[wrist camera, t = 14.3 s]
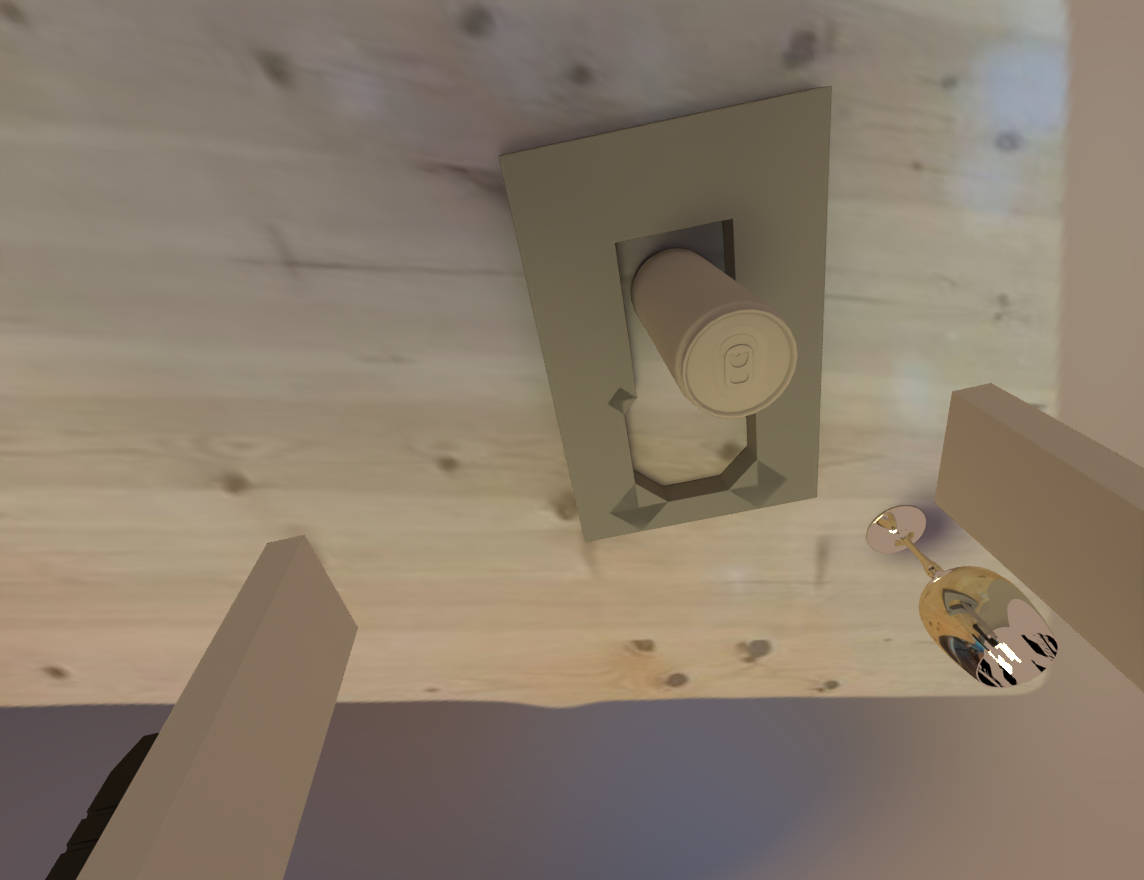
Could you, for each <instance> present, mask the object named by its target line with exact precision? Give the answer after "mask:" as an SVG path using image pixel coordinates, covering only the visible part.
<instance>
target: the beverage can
mask: <svg viewBox="0 0 1144 880" xmlns="http://www.w3.org/2000/svg"><path fill="white" fill-rule="evenodd" d="M631 301H632V304H633V307H634V310H635V312H636V313H637V315H638V317H639V318H640V320H641V322H642V323H643V325H644V327H645V328H646V330H647V332H648V333H649V335H650V337H651V338H652V340H653V342H654V344H655V346H656V347H657V349H658V351H659V353H660V355H661V356H662V358H663V360H664V362H665V364H666V365H667V367H668V369H669V371H670V372H671V374H672V376H673V378H674V379H675V381H676V383H677V384H678V386H679V388H680V390H681V391H682V393H683V395H684V396H685V397H686V398H687V399H689V400H690V401H691V402H692V403H693V404H694V405H696V406H697V407H698V408H699V409H701V410H702V411H704V412H706V413H708V414H710V415H712V416H716V417H722V418H741V417H744V416H748V415H751V414H754V413H756V412H758V411H760V410H762V409H764V408H766V407H767V406H769V405H770V404H771V403H772V402H773V401H775V400H776V399H777V398H778V397H779V396H780V395H781V394H782V392H783V391H784V390H785V389H786V387H787V386H788V385H789V383H790V380H791V378H792V376H793V374H794V371H795V367H796V362H797V347H796V341H795V339H794V336H793V334H792V332H791V329H790V328H789V327H788V326H787V323H786V321H785V320H784V319H783V318H782V317H781V316H780V315H779V313H778V312H777V311H776V310H775V309H773V308H772V307H771V306H769V305H768V304H766V303H765V302H764V301H762V300H761V299H760V298H758V297H757V296H755V295H754V294H753V293H751V292H750V291H749V290H747V289H746V288H744V287H743V286H742V285H740V284H739V283H738V282H736V281H735V280H733V279H732V278H731V277H729V276H728V275H726V274H725V273H724V272H722V271H721V270H720V269H718V268H717V267H715V266H714V265H713V264H711V263H710V262H709V261H707V260H706V259H704V258H703V257H702V256H700V255H698V254H697V253H695V252H693V251H691V250H687V249H682V248H675V249H667V250H664V251H661V252H658V253H657V254H655V255H654V256H652V257H651V258H649V259H648V260H647V261H646V262H645V263H644V264H643V265H642V266H641V267H640V269H639V271H638V272H637V274H636V276H635V278H634V281H633V285H632V288H631Z"/></svg>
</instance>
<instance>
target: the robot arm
mask: <svg viewBox="0 0 1144 880" xmlns="http://www.w3.org/2000/svg"><path fill="white" fill-rule="evenodd" d="M934 502H935V503H936V504H937V505H938V506H939V507H940V508H941V509H942V510H943V511H945V512H946V513H947V514H948V515H949V516H950V517H951V518H952V519H953V520H954V521H956V522H957V523H958V524H959V525H960V526H961V527H962V528H963V529H964V530H965V531H967V532H968V533H969V534H970V535H971V536H972V537H973V538H974V539H975V540H976V541H978V542H979V543H980V544H981V545H982V546H983V547H984V548H985V549H986V550H987V551H989V552H990V553H991V554H992V555H993V556H994V557H995V558H996V559H997V560H998V561H1000V562H1001V563H1002V564H1003V565H1004V566H1005V567H1006V568H1007V569H1008V570H1009V571H1011V572H1012V573H1013V574H1014V575H1015V576H1016V577H1017V578H1018V579H1019V580H1020V581H1022V582H1023V583H1024V584H1025V585H1026V586H1027V587H1028V588H1029V589H1030V590H1031V591H1032V592H1034V593H1035V594H1036V595H1037V596H1038V597H1039V598H1040V599H1041V600H1042V601H1043V602H1045V603H1046V604H1047V605H1048V606H1049V607H1050V608H1051V609H1052V610H1053V611H1055V612H1056V613H1057V614H1058V615H1059V616H1060V617H1061V618H1062V619H1063V620H1064V621H1065V622H1067V623H1068V624H1069V625H1070V626H1071V627H1072V628H1073V629H1074V630H1075V631H1077V632H1078V633H1079V634H1080V635H1081V636H1082V637H1083V638H1084V639H1085V640H1086V641H1087V642H1089V643H1090V644H1091V645H1092V646H1093V647H1094V648H1095V649H1096V650H1097V651H1098V652H1100V653H1101V654H1102V655H1103V656H1104V657H1105V658H1106V659H1107V660H1108V661H1110V662H1111V663H1112V664H1113V665H1114V666H1115V667H1116V668H1117V669H1118V670H1119V671H1121V672H1122V673H1123V674H1124V675H1125V676H1126V677H1127V678H1128V679H1129V680H1130V681H1131V682H1133V683H1134V684H1135V685H1136V686H1137V687H1138V688H1139V689H1140V690H1141V691H1142V692H1143V693H1144V468H1143V467H1141V466H1139V465H1138V464H1135V463H1134V462H1132V461H1130V460H1129V459H1127V458H1125V457H1123V456H1121V455H1119V454H1118V453H1116V452H1114V451H1112V450H1110V449H1109V448H1107V447H1105V446H1103V445H1101V444H1100V443H1098V442H1096V441H1094V440H1092V439H1091V438H1089V437H1087V436H1085V435H1083V434H1082V433H1080V432H1078V431H1076V430H1074V429H1073V428H1070V427H1069V426H1067V425H1065V424H1064V423H1062V422H1060V421H1058V420H1056V419H1055V418H1053V417H1051V416H1049V415H1047V414H1046V413H1044V412H1042V411H1040V410H1038V409H1037V408H1035V407H1033V406H1031V405H1029V404H1028V403H1026V402H1024V401H1022V400H1020V399H1019V398H1017V397H1015V396H1013V395H1011V394H1010V393H1008V392H1006V391H1004V390H1002V389H1001V388H999V387H997V386H995V385H993V384H992V383H989V384H984V385H980V386H975V387H971V388H966V389H962V390H957V391H953V392H952V396H951V402H950V408H949V414H948V420H947V427H946V433H945V439H944V445H943V451H942V457H941V463H940V470H939V476H938V482H937V488H936V494H935V500H934ZM357 629H358V627H357V625H356V624H355V622H354V620H353V618H352V617H351V615H350V613H349V611H348V610H347V608H346V606H345V604H344V603H343V601H342V599H341V597H340V596H339V594H338V592H337V591H336V589H335V587H334V585H333V584H332V582H331V580H330V578H329V577H328V575H327V573H326V571H325V570H324V568H323V566H322V564H321V563H320V561H319V559H318V558H317V556H316V554H315V552H314V551H313V549H312V547H311V545H310V544H309V542H308V540H307V538H306V537H305V535H302V536H297V537H293V538H288V539H283V540H279V541H274V542H270V543H267V545H266V546H265V548H264V550H263V552H262V554H261V555H260V557H259V559H258V561H257V562H256V564H255V566H254V568H253V569H252V571H251V573H250V575H249V576H248V578H247V580H246V582H245V583H244V585H243V587H242V589H241V590H240V592H239V594H238V596H237V597H236V599H235V601H234V603H233V605H232V606H231V608H230V610H229V612H228V613H227V615H226V617H225V619H224V620H223V622H222V624H221V626H220V627H219V629H218V631H217V633H216V634H215V636H214V638H213V640H212V641H211V643H210V645H209V647H208V648H207V650H206V652H205V654H204V656H203V657H202V659H201V661H200V663H199V664H198V666H197V668H196V670H195V671H194V673H193V675H192V677H191V678H190V680H189V682H188V684H187V685H186V687H185V689H184V691H183V692H182V694H181V696H180V698H179V699H178V701H177V703H176V705H175V706H174V708H173V710H172V712H171V714H170V716H169V717H168V719H167V721H166V722H165V724H164V726H163V728H162V729H161V731H160V733H155V734H151V735H146V736H144V737H142V739H141V740H140V741H139V742H138V743H137V744H136V745H135V746H134V747H133V748H132V749H131V751H130V752H129V753H128V754H127V755H126V756H125V757H124V758H123V759H122V760H121V761H120V763H119V764H118V765H117V766H116V767H115V768H114V769H113V770H112V771H111V773H110V774H109V776H108V777H107V779H106V781H105V782H104V784H103V786H102V787H101V789H100V791H99V792H98V794H97V796H96V797H95V799H94V801H93V802H92V804H91V806H90V807H89V809H88V810H87V813H88V816H87V818H86V819H82V820H81V822H80V824H79V825H78V827H77V828H76V830H75V832H74V833H73V835H72V837H71V838H70V840H69V842H68V843H67V851H66V852H65V853H63V854H61V855H60V857H59V858H58V860H57V861H56V863H55V865H54V866H53V868H52V869H51V871H50V873H49V874H48V876H47V878H46V879H45V880H283V877H284V874H285V870H286V867H287V864H288V860H289V857H290V854H291V850H292V847H293V843H294V840H295V836H296V833H297V830H298V827H299V823H300V819H301V817H302V813H303V809H304V806H305V803H306V800H307V796H308V793H309V790H310V786H311V783H312V780H313V776H314V773H315V770H316V766H317V763H318V759H319V756H320V753H321V750H322V746H323V743H324V739H325V736H326V733H327V729H328V726H329V723H330V719H331V716H332V713H333V709H334V706H335V703H336V699H337V696H338V692H339V689H340V686H341V682H342V679H343V676H344V672H345V669H346V666H347V662H348V659H349V656H350V652H351V649H352V645H353V642H354V639H355V635H356V632H357Z"/></svg>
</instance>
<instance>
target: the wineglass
mask: <svg viewBox="0 0 1144 880" xmlns="http://www.w3.org/2000/svg"><path fill="white" fill-rule="evenodd" d="M925 528H926V517H925V515H924V513H923V512H922V511H921V510H920V509H918V508H916V507H913V506H898V507H894V508H892V509H889V510H887V511H885V512H884V513H882V514H881V515H879V516H878V517H877V518H876V519H875V520H874V521H873V522H872V524H871V525H870V527H869V529H868V532H867V542H868V544H869V546H870V547H871V548H872V549H873V550H875V551H877V552H880V553H896V552H899V551H902V550H904V549H906V548H909V549H910V550H911V551H912V552H913V553H914V554H915V556H916V557H917V558H918V559H919V561H920V562H921V564H922V566H923V567H924V571H925V572H926V574H927V575H928V576H929V577H930V578H931V579H932V580H931V581H930V582H929V583H928V584H927V585H926V586H925V588H924V589H923V591H922V593H921V596H920V600H919V614H920V618H921V621H922V623H923V625H924V627H925V628H926V630H927V632H928V633H929V635H930V637H931V638H932V639H933V640H934V641H935V643H936V644H937V645H938V646H939V647H940V648H941V649H942V650H943V651H944V652H945V653H946V654H947V655H948V656H949V657H950V658H951V659H952V660H953V661H954V662H955V663H956V664H957V665H959V666H960V667H961V668H962V669H964V670H965V671H966V672H967V673H969V674H970V675H971V676H972V677H974V678H975V679H976V680H978V681H979V682H980V683H982V684H983V685H985V686H988V687H992V688H1007V687H1012V686H1016V685H1020V684H1023V683H1025V682H1027V681H1030V680H1032V679H1033V678H1035V677H1037V676H1038V675H1040V674H1041V673H1043V672H1044V671H1045V670H1046V669H1047V668H1048V667H1050V666H1051V664H1052V663H1053V662H1054V661H1055V659H1056V657H1057V655H1058V651H1059V643H1058V641H1057V639H1056V638H1055V636H1054V634H1053V632H1052V631H1051V629H1050V627H1049V626H1048V624H1047V623H1046V622H1045V620H1044V619H1043V617H1042V616H1041V615H1040V613H1039V612H1038V611H1037V609H1036V608H1035V607H1034V605H1033V604H1032V603H1031V602H1030V601H1029V599H1028V598H1027V597H1026V596H1025V595H1024V594H1023V593H1022V592H1021V591H1020V590H1019V589H1018V588H1017V587H1016V586H1015V585H1014V584H1013V583H1011V582H1010V581H1009V580H1007V579H1006V578H1004V577H1002V576H1001V575H999V574H998V573H996V572H993V571H991V570H989V569H985V568H981V567H975V566H961V567H956V568H952V569H949V570H946V571H943V569H942V568H941V566H939V565H938V564H936V563H935V562H933V561H931V560H930V559H928V558H927V557H926V556H925V555H924V554H923V553H922V552H921V551H920V550H919V549H918V548H917V547H916V546H915V545H914V543H915V542H916V541H917V540H918V539H919V538H920V537H921V536H922V534H923V532H924V530H925Z"/></svg>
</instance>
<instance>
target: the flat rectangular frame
mask: <svg viewBox="0 0 1144 880" xmlns="http://www.w3.org/2000/svg"><path fill="white" fill-rule="evenodd" d="M831 90H832V86H826V87H819V88H813V89H808V90H803V91H799V92H794V93H789V94H785V95H780V96H775V97H771V98H766V99H761V100H756V101H752V102H747V103H742V104H738V105H733V106H728V107H724V108H719V109H714V110H710V111H705V112H700V113H695V114H691V115H686V116H681V117H677V118H672V119H667V120H663V121H658V122H653V123H649V124H644V125H639V126H634V127H630V128H625V129H620V130H616V131H611V132H606V133H602V134H597V135H592V136H588V137H583V138H578V139H573V140H569V141H564V142H559V143H555V144H550V145H545V146H541V147H536V148H531V149H527V150H522V151H517V152H512V153H508V154H503V155H500V156H499V161H500V165H501V170H502V174H503V179H504V183H505V188H506V192H507V197H508V201H509V205H510V210H511V214H512V219H513V223H514V228H515V232H516V237H517V241H518V246H519V250H520V255H521V259H522V263H523V268H524V272H525V277H526V281H527V286H528V290H529V295H530V299H531V304H532V308H533V313H534V317H535V321H536V326H537V330H538V335H539V339H540V344H541V348H542V353H543V357H544V362H545V366H546V371H547V375H548V379H549V384H550V388H551V393H552V397H553V402H554V406H555V411H556V415H557V420H558V424H559V429H560V433H561V437H562V442H563V446H564V451H565V455H566V460H567V464H568V469H569V473H570V478H571V482H572V487H573V491H574V495H575V500H576V504H577V509H578V513H579V518H580V522H581V527H582V531H583V536H584V540H585V542H588V541H594V540H599V539H604V538H609V537H614V536H619V535H625V534H630V533H635V532H640V531H645V530H650V529H656V528H661V527H666V526H671V525H676V524H681V523H686V522H692V521H697V520H702V519H707V518H712V517H717V516H723V515H728V514H733V513H738V512H743V511H748V510H754V509H759V508H764V507H769V506H774V505H779V504H785V503H790V502H795V501H800V500H805V499H810V498H815V497H817V483H818V454H819V426H820V398H821V370H822V342H823V314H824V286H825V258H826V230H827V202H828V174H829V146H830V118H831ZM719 221H723V234H724V254H725V274H726V275H728V276H729V277H731V278H732V279H733V280H735V281H736V282H738V283H739V284H740V285H742V286H743V287H744V288H746V289H747V290H749V291H750V292H751V293H753V294H754V295H755V296H757V297H758V298H760V299H761V300H762V301H764V302H765V303H766V304H768V305H769V306H771V307H772V308H773V309H775V310H776V311H777V312H778V313H779V315H780V316H781V317H782V318H783V319H784V320H785V321H786V323H787V326H788V327H789V328H790V329H791V332H792V334H793V336H794V339H795V341H796V347H797V362H796V367H795V371H794V374H793V376H792V378H791V380H790V383H789V385H788V386H787V387H786V389H785V390H784V391H783V392H782V394H781V395H780V396H779V397H778V398H777V399H776V400H775V401H773V402H772V403H771V404H770V405H769V406H767V407H766V408H764V409H762V410H760V411H758V412H756V413H754V414H751V415H748V416H746V418H747V445H748V446H747V447H746V448H745V449H744V450H743V451H742V452H741V453H740V454H739V456H738V457H737V458H736V459H735V460H734V461H733V462H732V463H731V464H730V465H729V466H728V468H727V469H726V470H725V471H724V472H723V473H722V474H721V475H720V476H716V477H711V478H706V479H700V480H695V481H690V482H685V483H680V484H675V485H670V486H665V487H662V486H660V485H658V484H656V483H655V482H653V481H651V480H649V479H648V478H646V477H644V476H642V475H641V474H639V473H637V472H635V471H634V470H633V467H632V461H631V455H630V448H629V442H628V436H627V429H626V423H625V417H624V414H625V412H626V411H627V410H628V409H629V407H630V406H631V405H632V404H633V402H634V401H635V400H636V398H637V395H636V388H635V381H634V374H633V367H632V360H631V353H630V346H629V339H628V332H627V325H626V318H625V311H624V304H623V297H622V290H621V283H620V276H619V269H618V262H617V255H616V248H615V243H618V242H623V241H627V240H632V239H637V238H642V237H647V236H651V235H656V234H661V233H666V232H671V231H676V230H680V229H685V228H690V227H695V226H700V225H704V224H709V223H714V222H719Z"/></svg>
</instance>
